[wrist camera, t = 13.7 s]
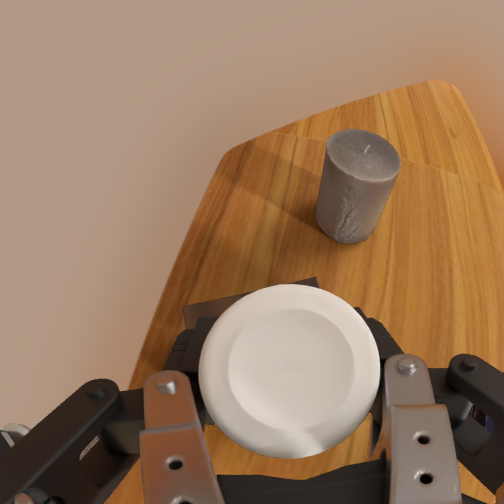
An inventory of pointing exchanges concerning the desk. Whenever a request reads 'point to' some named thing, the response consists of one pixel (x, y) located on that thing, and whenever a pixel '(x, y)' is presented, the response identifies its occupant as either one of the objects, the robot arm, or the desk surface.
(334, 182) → the pillar candle
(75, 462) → the robot arm
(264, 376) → the sprinkles bottle
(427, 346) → the desk surface
